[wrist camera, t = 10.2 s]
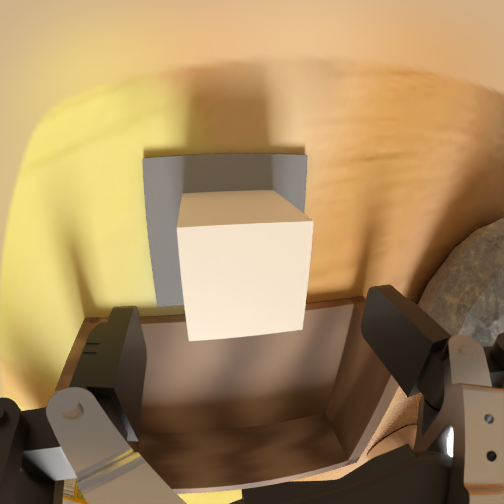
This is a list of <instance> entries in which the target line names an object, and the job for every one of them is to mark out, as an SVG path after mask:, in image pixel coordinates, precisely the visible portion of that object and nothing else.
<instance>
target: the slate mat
mask: <svg viewBox="0 0 504 504" xmlns="http://www.w3.org/2000/svg"><path fill="white" fill-rule="evenodd" d="M142 160H143V179H144V194H145V207H146V219H147V229H148V238H149V247H150V256H151V263H152V271H153V278H154V285H155V292H156V298H157V304H158V307H161V306H179V305H184V299H183V290H182V281H181V272H180V261H179V250H178V238H177V223H178V216H179V210H180V204H181V198H182V193H199V192H220V191H250V190H274V191H275V192H277V193H278V194H279V195H281V196H282V197H283V198H284V199H286V200H287V201H288V202H290V203H291V204H292V205H294V206H295V207H296V208H298V209H299V210H300V211H301V212H303V213H304V208H305V191H306V173H307V155H302V154H263V153H238V154H199V155H179V156H163V157H150V158H143V159H142Z"/></svg>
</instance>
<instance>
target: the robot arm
mask: <svg viewBox="0 0 504 504" xmlns="http://www.w3.org/2000/svg"><path fill="white" fill-rule="evenodd" d="M361 333H362V336H363V338H364V339H365V341H366V342H367V343H368V344H369V346H370V347H371V348H372V350H373V351H374V352H375V354H376V355H377V356H378V358H379V359H380V360H381V362H382V363H383V364H384V366H385V367H386V368H387V370H388V371H389V372H390V374H391V375H392V376H393V378H394V379H395V380H396V382H397V383H398V384H399V386H400V387H401V388H402V390H403V391H404V392H405V394H406V395H407V396H408V397H410V396H412V395H415V394H418V393H420V392H421V393H422V395H423V396H422V397H421V399H420V402H419V412H418V422H417V425H410V426H407V427H404V428H402V429H400V430H398V431H396V432H394V433H392V434H391V435H389V436H388V437H386V438H385V439H383V440H382V441H381V442H379V443H378V444H377V445H376V446H374V447H373V448H372V449H371V451H370V452H369V453H368V455H367V459H368V462H366V463H365V464H363V465H361V466H360V467H358V468H357V469H355V470H354V471H352V472H350V473H349V474H347V475H345V476H344V477H342V478H340V479H337V480H327V481H297V482H284V483H279V484H273V485H267V486H261V487H255V488H247V489H242V499H240V500H238V501H235V502H232V503H230V504H504V333H500V334H499V335H498V336H497V338H496V340H495V342H494V344H493V346H486V347H482V345H481V344H480V343H479V342H478V341H476V340H475V339H473V338H471V337H469V336H465V335H455V336H453V337H452V336H451V335H450V334H449V333H448V332H447V331H446V330H444V329H443V328H442V327H441V326H440V325H439V324H438V323H437V322H436V321H435V320H434V319H432V318H431V317H429V315H428V314H427V313H426V312H425V311H422V309H421V308H420V307H419V306H418V305H417V304H416V303H415V302H413V301H411V300H410V299H408V298H406V297H404V296H403V295H402V294H401V293H400V292H398V291H397V290H396V289H395V288H394V287H393V286H391V285H382V286H374V287H371V288H370V289H369V291H368V293H367V298H366V303H365V307H364V312H363V316H362V320H361ZM146 364H147V350H146V344H145V339H144V335H143V331H142V326H141V322H140V317H139V312H138V309H137V307H136V306H124V307H113V309H112V312H111V314H110V317H109V320H108V322H100V323H99V324H98V325H97V326H96V327H95V328H94V329H92V330H91V331H90V333H89V336H88V338H87V340H86V345H84V348H83V350H82V354H81V355H80V358H79V361H78V363H77V366H76V369H75V371H74V374H73V377H72V379H71V382H70V385H69V388H66V389H63V390H61V391H59V392H57V393H56V394H54V395H53V396H52V397H51V399H50V400H49V402H48V404H47V407H45V408H40V409H33V410H26V411H21V410H20V408H19V407H18V405H17V404H16V403H15V402H14V401H13V400H11V399H9V398H0V504H62V502H63V490H64V480H66V479H73V478H78V481H76V482H77V485H78V488H79V489H80V491H81V493H82V495H83V496H84V498H85V499H86V501H87V502H88V504H186V503H185V502H184V501H183V500H182V499H181V498H180V497H179V496H178V495H177V494H176V493H175V492H174V491H173V490H172V489H171V488H170V487H169V486H168V485H167V484H166V483H165V482H164V481H163V480H162V479H161V477H160V476H159V475H158V474H157V473H156V472H155V471H154V470H153V469H152V468H151V466H150V465H149V464H148V463H147V462H146V461H145V460H144V458H143V457H142V456H141V455H140V454H139V453H138V452H137V451H134V450H133V449H132V448H131V447H130V446H129V444H128V443H127V441H139V428H140V417H141V406H142V397H143V388H144V380H145V372H146Z"/></svg>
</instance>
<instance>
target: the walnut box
mask: <svg viewBox="0 0 504 504" xmlns="http://www.w3.org/2000/svg"><path fill="white" fill-rule="evenodd" d="M365 303H366V299H365V298H364V297H363V296H362V297H355V298H348V299H341V300H333V301H326V302H318V303H310V304H306V305H305V313H304V321H303V329H302V330H295V331H288V332H280V333H272V334H264V335H255V336H246V337H236V338H225V339H214V340H201V341H189V338H188V331H187V323H186V316H185V315H173V316H153V317H140V322H141V326H142V331H143V335H144V339H145V344H146V350H147V364H146V372H145V380H144V388H143V397H142V406H141V417H140V428H139V441H127V443H128V444H129V446H130V447H131V448H132V449H133V450H134V451H137V452H138V453H139V454H140V455H141V456H142V457H143V458H144V460H145V461H146V462H147V463H148V464H149V465H150V466H151V468H152V469H153V470H154V471H155V472H156V473H157V474H158V475H159V476H160V477H161V479H162V480H163V481H164V482H165V483H166V484H167V485H168V486H169V487H170V488H171V489H172V490H173V491H174V492H175V493H176V494H182V493H206V492H219V491H229V490H238V489H246V488H253V487H259V486H265V485H271V484H277V483H282V482H287V481H291V480H296V479H300V478H304V477H308V476H312V475H316V474H320V473H324V472H327V471H331V470H334V469H337V468H341V467H344V466H347V465H350V464H353V463H356V462H357V461H358V459H359V458H360V456H361V454H362V453H363V451H364V450H365V448H366V446H367V445H368V443H369V441H370V440H371V438H372V436H373V434H374V433H375V431H376V429H377V427H378V426H379V424H380V422H381V420H382V418H383V416H384V414H385V413H386V411H387V409H388V407H389V405H390V403H391V401H392V399H393V397H394V395H395V393H396V391H397V389H398V386H399V384H398V383H397V382H396V380H395V379H394V378H393V376H392V375H391V374H390V372H389V371H388V370H387V368H386V367H385V366H384V364H383V363H382V362H381V360H380V359H379V358H378V356H377V355H376V354H375V352H374V351H373V350H372V348H371V347H370V346H369V344H368V343H367V342H366V341H365V339H364V338H363V336H362V333H361V320H362V316H363V312H364V307H365ZM108 320H109V318H85V319H84V321H83V323H82V325H81V328H80V330H79V332H78V334H77V337H76V339H75V341H74V344H73V346H72V349H71V351H70V353H69V356H68V358H67V361H66V363H65V366H64V368H63V371H62V374H61V376H60V379H59V382H58V384H57V387H56V390H55V391H56V393H57V392H59V391H61V390H63V389H66V388H69V385H70V382H71V379H72V377H73V374H74V371H75V369H76V366H77V363H78V361H79V358H80V355H81V354H82V350H83V348H84V345H86V340H87V338H88V336H89V333H90V331H91V330H92V329H94V328H95V327H96V326H97V325H98V324H99V323H100V322H108Z"/></svg>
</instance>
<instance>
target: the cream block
mask: <svg viewBox="0 0 504 504" xmlns="http://www.w3.org/2000/svg"><path fill="white" fill-rule="evenodd" d="M313 223H314V221H313V220H312V219H310V218H309V217H308V216H306V215H305V214H304V213H303V212H301V211H300V210H299V209H298V208H296V207H295V206H294V205H292V204H291V203H290V202H288V201H287V200H286V199H284V198H283V197H282V196H281V195H279V194H278V193H277V192H275V191H274V190H250V191H220V192H199V193H182V198H181V204H180V210H179V216H178V223H177V238H178V250H179V261H180V272H181V281H182V290H183V299H184V308H185V316H186V323H187V331H188V338H189V341H201V340H214V339H225V338H236V337H246V336H255V335H264V334H272V333H280V332H288V331H295V330H302V329H303V321H304V313H305V305H306V296H307V287H308V278H309V268H310V258H311V247H312V236H313Z"/></svg>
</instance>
